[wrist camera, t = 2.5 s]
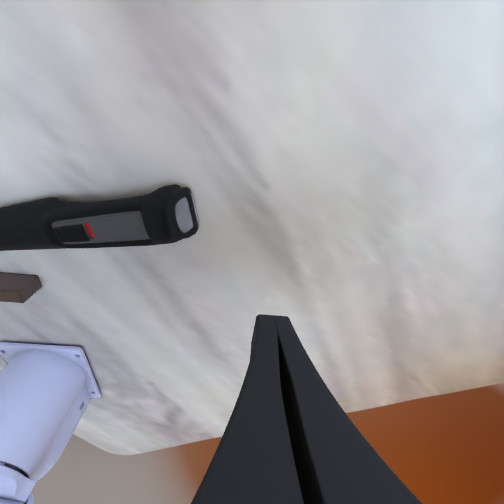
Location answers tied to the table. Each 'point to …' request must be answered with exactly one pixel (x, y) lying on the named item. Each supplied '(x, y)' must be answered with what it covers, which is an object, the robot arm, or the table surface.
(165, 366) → the table surface
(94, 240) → the electric trimmer
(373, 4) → the table surface
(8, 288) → the dock
